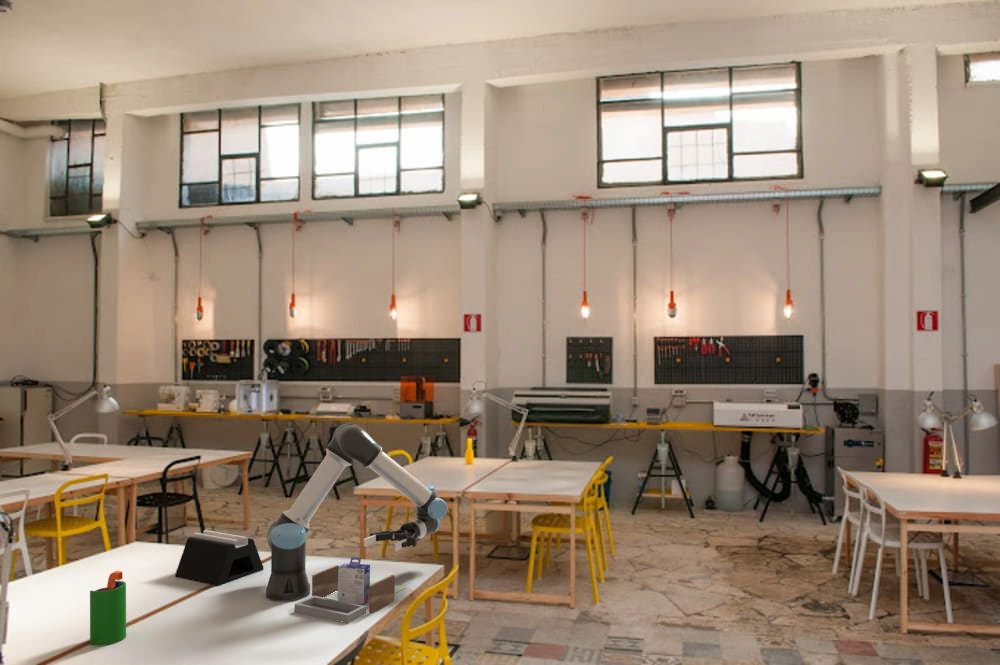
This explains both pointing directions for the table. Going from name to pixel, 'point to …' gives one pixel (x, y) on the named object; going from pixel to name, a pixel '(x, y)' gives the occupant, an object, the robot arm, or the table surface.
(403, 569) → the table surface
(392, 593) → the tunnel walls
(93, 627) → the green tool holder
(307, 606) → the pit trap
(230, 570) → the device stand
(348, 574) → the ink cartridge box
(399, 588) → the pad
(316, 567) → the table surface
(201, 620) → the table surface
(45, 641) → the table surface
